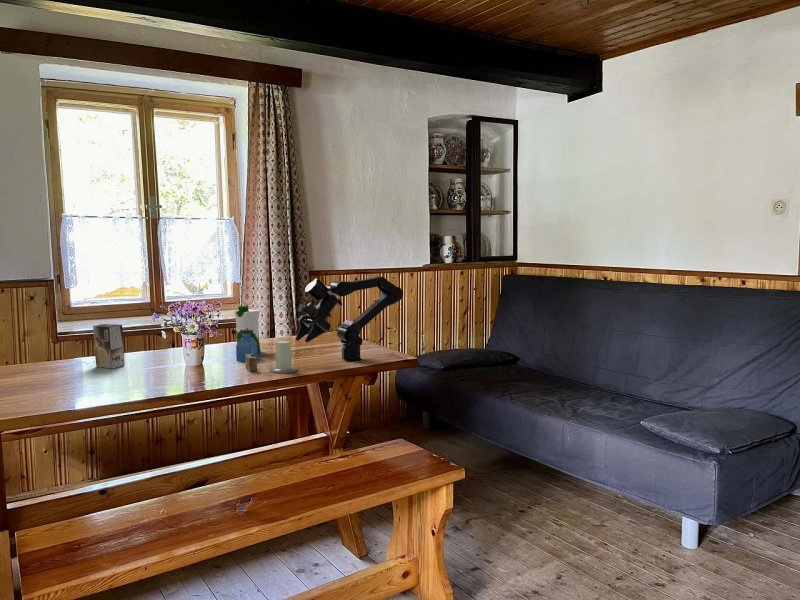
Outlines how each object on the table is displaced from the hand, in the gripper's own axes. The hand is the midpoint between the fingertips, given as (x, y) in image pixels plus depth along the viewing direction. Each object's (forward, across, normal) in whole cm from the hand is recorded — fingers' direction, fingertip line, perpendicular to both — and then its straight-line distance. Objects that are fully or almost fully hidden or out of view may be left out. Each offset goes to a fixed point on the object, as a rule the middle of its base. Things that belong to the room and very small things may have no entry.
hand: (301, 341), depth 230 cm
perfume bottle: (+15, -25, -4) cm, 30 cm away
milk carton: (+11, -39, -1) cm, 40 cm away
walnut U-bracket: (+18, -8, -7) cm, 21 cm away
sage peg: (+12, +1, 0) cm, 12 cm away
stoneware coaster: (+13, +1, +1) cm, 13 cm away
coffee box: (+46, -42, -41) cm, 75 cm away
